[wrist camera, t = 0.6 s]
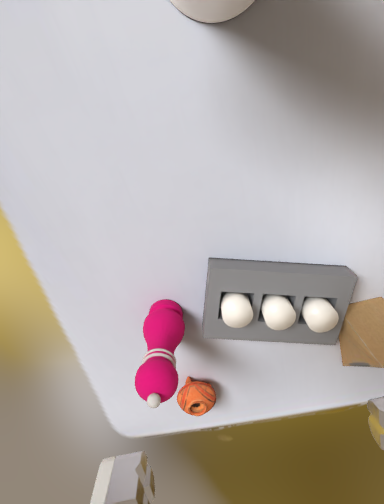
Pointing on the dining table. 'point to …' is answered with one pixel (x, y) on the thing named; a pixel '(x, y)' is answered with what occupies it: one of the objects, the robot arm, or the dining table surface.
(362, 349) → the sandwich container
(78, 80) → the dining table surface
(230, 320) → the ball
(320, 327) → the button container side
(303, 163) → the dining table surface
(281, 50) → the dining table surface
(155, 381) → the pepper mill
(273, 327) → the button middle
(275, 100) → the dining table surface
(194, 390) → the pot
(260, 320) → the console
